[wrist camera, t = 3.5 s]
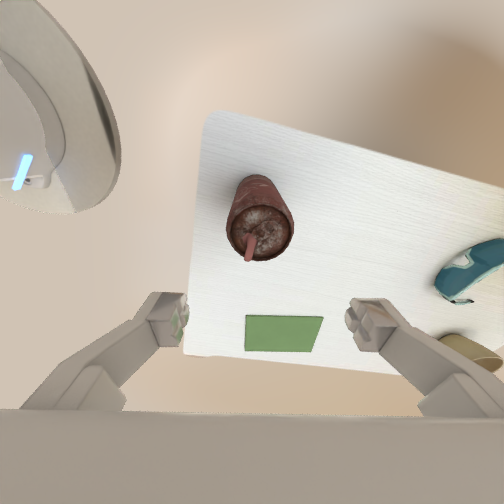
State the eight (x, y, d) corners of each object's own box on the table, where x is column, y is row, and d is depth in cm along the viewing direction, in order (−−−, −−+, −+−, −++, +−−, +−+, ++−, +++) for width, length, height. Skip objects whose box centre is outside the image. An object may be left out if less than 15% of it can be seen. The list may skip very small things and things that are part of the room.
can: (232, 211, 28) (219, 260, 16) (241, 169, 25) (231, 190, 13) (269, 220, 29) (281, 272, 17) (281, 180, 26) (308, 210, 14)
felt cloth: (245, 349, 48) (245, 351, 48) (246, 315, 41) (246, 316, 41) (310, 350, 49) (311, 352, 48) (323, 316, 41) (323, 318, 41)
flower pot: (472, 323, 43) (509, 352, 37) (468, 344, 48) (500, 374, 41) (426, 334, 45) (454, 364, 39) (426, 354, 50) (451, 383, 44)
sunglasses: (495, 225, 30) (539, 240, 26) (523, 254, 35) (562, 271, 31) (419, 282, 36) (444, 302, 32) (452, 299, 41) (477, 318, 37)
